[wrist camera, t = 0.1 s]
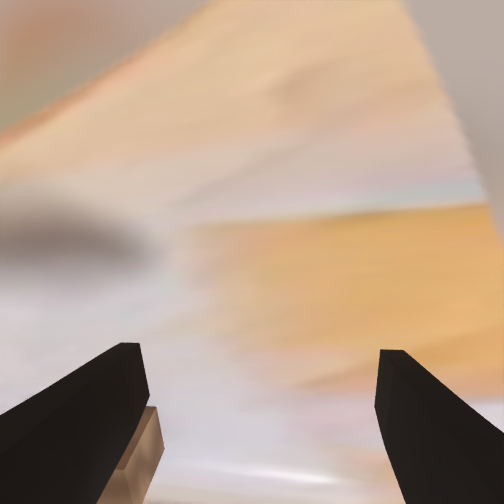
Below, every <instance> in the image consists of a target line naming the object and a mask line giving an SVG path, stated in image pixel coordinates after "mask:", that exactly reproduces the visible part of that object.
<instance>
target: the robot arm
mask: <svg viewBox="0 0 504 504" xmlns="http://www.w3.org/2000/svg"><path fill="white" fill-rule="evenodd" d="M149 396H150V394H149V389H148V384H147V379H146V374H145V369H144V364H143V359H142V354H141V348H140V343H119V344H117V345H116V346H114V347H112V348H110V349H108V350H107V351H105V352H103V353H102V354H100V355H99V356H97V357H95V358H94V359H92V360H91V361H89V362H87V363H86V364H84V365H83V366H81V367H80V368H78V369H76V370H75V371H73V372H72V373H70V374H68V375H67V376H65V377H64V378H62V379H60V380H59V381H57V382H56V383H54V384H52V385H51V386H49V387H48V388H46V389H44V390H42V391H41V392H39V393H37V394H36V395H34V396H32V397H31V398H29V399H27V400H25V401H24V402H22V403H20V404H19V405H17V406H15V407H14V408H12V409H10V410H8V411H7V412H5V413H3V414H2V415H0V504H96V503H97V502H98V500H99V498H100V496H101V494H102V492H103V490H104V489H105V487H106V485H107V483H108V481H109V479H110V478H111V476H112V474H113V472H114V470H115V468H116V467H117V465H118V463H119V461H120V459H121V457H122V455H123V454H124V452H125V450H126V448H127V446H128V444H129V442H130V440H131V439H132V437H133V435H134V433H135V431H136V429H137V427H138V424H139V422H140V419H141V417H142V415H143V412H144V409H145V407H146V404H147V401H148V399H149ZM374 407H375V411H376V415H377V419H378V423H379V427H380V431H381V435H382V439H383V442H384V446H385V449H386V451H387V454H388V457H389V460H390V462H391V465H392V468H393V470H394V473H395V476H396V479H397V481H398V484H399V487H400V489H401V492H402V495H403V497H404V500H405V503H406V504H504V433H503V432H502V431H501V430H499V429H498V428H497V427H495V426H494V425H493V424H491V423H490V422H489V421H488V420H486V419H485V418H484V417H483V416H481V415H480V414H479V413H478V412H476V411H475V410H474V409H473V408H471V407H470V406H469V405H468V404H466V403H465V402H464V401H463V400H462V399H460V398H459V397H458V396H457V395H456V394H454V393H453V392H452V391H451V390H450V389H448V388H447V387H446V386H445V385H444V384H443V383H441V382H440V381H439V380H438V379H437V378H436V377H434V376H433V375H432V374H431V373H430V372H429V371H427V370H426V369H425V368H424V367H423V366H422V365H420V364H419V363H418V362H417V361H416V360H415V359H413V358H412V357H411V356H410V355H409V354H407V353H406V352H405V351H404V350H382V349H380V358H379V368H378V377H377V387H376V396H375V406H374Z"/></svg>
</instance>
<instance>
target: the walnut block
mask: <svg viewBox="0 0 504 504" xmlns="http://www.w3.org/2000/svg"><path fill="white" fill-rule="evenodd" d="M164 449H165V448H164V443H163V438H162V433H161V428H160V423H159V418H158V413H157V408H156V407H148V406H146V407H145V409H144V412H143V415H142V417H141V419H140V422H139V424H138V427H137V429H136V431H135V433H134V435H133V437H132V439H131V440H130V442H129V444H128V446H127V448H126V450H125V452H124V454H123V455H122V457H121V459H120V461H119V463H118V465H117V467H116V468H115V470H114V472H113V474H112V476H111V478H110V479H109V481H108V483H107V485H106V487H105V489H104V490H103V492H102V494H101V496H100V498H99V500H98V502H97V503H96V504H142V503H143V500H144V498H145V495H146V493H147V490H148V488H149V485H150V483H151V481H152V478H153V476H154V473H155V471H156V468H157V466H158V463H159V461H160V459H161V456H162V454H163V451H164Z"/></svg>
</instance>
